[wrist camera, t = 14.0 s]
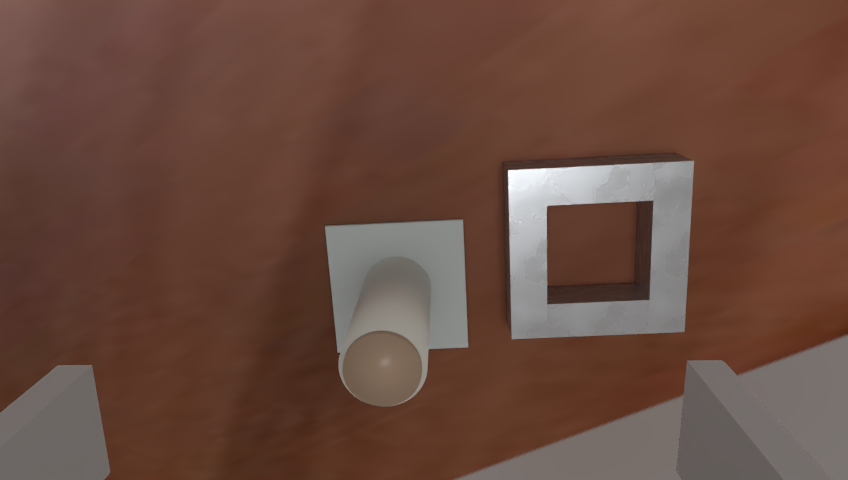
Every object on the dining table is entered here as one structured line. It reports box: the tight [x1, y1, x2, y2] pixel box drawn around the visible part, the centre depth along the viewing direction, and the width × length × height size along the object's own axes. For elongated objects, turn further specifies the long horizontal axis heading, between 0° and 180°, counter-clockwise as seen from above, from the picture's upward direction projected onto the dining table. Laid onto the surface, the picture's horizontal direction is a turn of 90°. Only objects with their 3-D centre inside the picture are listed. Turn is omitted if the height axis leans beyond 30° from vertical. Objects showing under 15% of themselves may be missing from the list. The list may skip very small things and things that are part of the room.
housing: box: [503, 153, 694, 339], centre depth 46 cm, size 12×12×4 cm
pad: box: [325, 219, 468, 353], centre depth 49 cm, size 10×10×1 cm
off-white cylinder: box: [338, 257, 431, 406], centre depth 42 cm, size 5×5×13 cm
